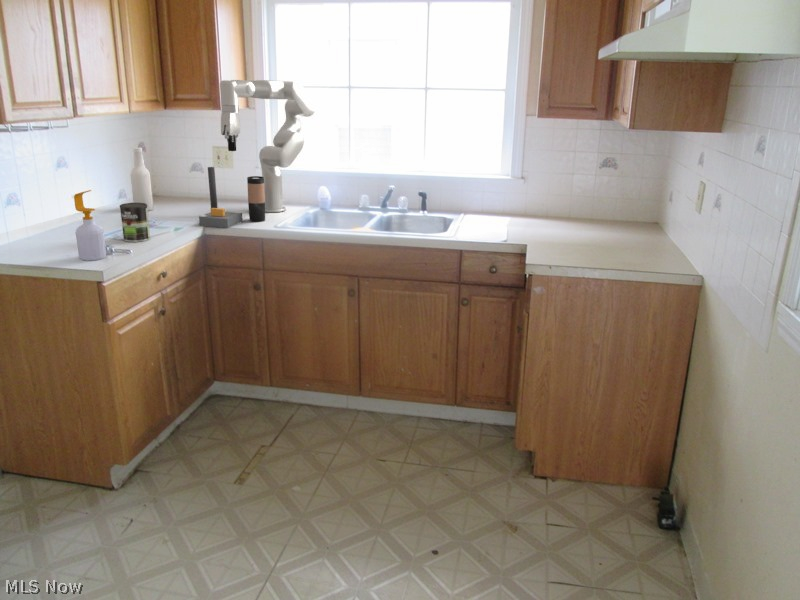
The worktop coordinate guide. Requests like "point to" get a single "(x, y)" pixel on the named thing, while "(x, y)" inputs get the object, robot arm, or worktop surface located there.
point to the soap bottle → (89, 234)
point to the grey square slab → (221, 220)
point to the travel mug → (256, 198)
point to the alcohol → (141, 181)
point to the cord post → (212, 187)
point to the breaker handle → (217, 212)
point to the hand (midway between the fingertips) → (232, 150)
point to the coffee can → (135, 222)
